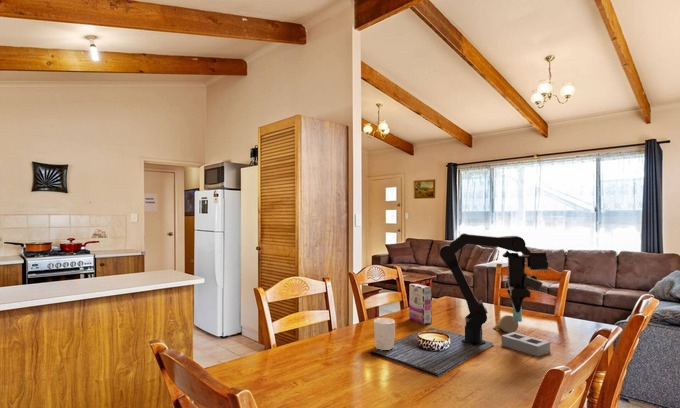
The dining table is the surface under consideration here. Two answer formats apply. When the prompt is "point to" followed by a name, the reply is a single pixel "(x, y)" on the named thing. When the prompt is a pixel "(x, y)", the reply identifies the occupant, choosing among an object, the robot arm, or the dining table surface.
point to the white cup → (384, 333)
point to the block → (525, 344)
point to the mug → (507, 324)
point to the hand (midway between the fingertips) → (517, 311)
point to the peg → (517, 315)
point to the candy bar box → (420, 303)
